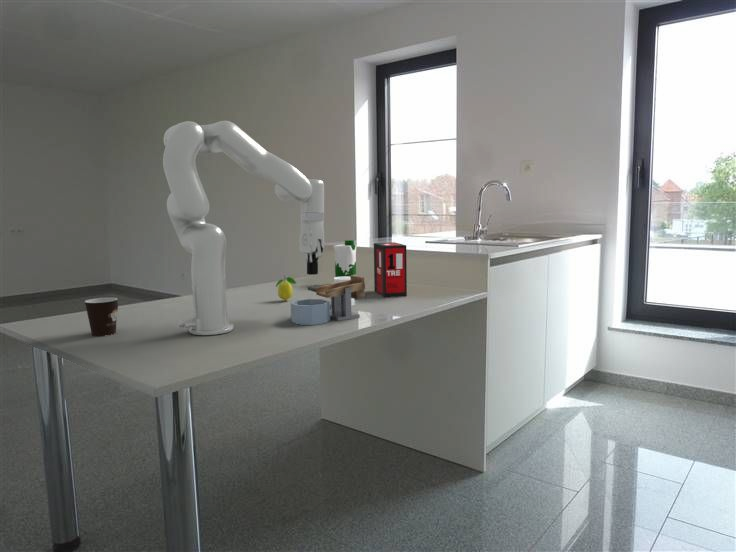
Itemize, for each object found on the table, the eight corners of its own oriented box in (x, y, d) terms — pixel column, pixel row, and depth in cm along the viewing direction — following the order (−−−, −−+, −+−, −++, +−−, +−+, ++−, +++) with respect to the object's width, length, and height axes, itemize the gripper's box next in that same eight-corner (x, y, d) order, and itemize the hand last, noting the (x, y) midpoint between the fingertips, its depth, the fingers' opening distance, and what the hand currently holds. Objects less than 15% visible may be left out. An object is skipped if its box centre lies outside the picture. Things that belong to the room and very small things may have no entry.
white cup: (353, 307, 198) (352, 279, 197) (331, 306, 200) (331, 279, 198) (358, 303, 206) (357, 276, 204) (337, 302, 207) (336, 276, 206)
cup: (302, 326, 169) (301, 307, 168) (287, 320, 179) (286, 301, 178) (335, 321, 175) (334, 302, 174) (318, 315, 185) (318, 297, 184)
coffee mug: (99, 338, 158) (96, 303, 157) (81, 335, 163) (78, 301, 162) (135, 330, 168) (132, 297, 167) (117, 327, 173) (115, 295, 171)
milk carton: (350, 287, 245) (349, 241, 242) (332, 286, 248) (331, 241, 246) (359, 284, 253) (358, 239, 250) (341, 283, 256) (340, 239, 254)
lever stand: (337, 320, 176) (337, 289, 175) (323, 315, 185) (322, 285, 183) (359, 317, 180) (359, 287, 179) (344, 312, 189) (343, 283, 187)
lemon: (297, 301, 212) (296, 275, 211) (282, 303, 209) (281, 276, 207) (289, 298, 217) (288, 273, 216) (275, 300, 214) (274, 274, 213)
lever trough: (328, 307, 175) (325, 286, 174) (309, 300, 187) (306, 281, 186) (366, 297, 182) (364, 277, 181) (345, 292, 194) (343, 273, 193)
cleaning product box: (374, 291, 233) (373, 243, 230) (395, 289, 235) (394, 242, 232) (384, 297, 217) (384, 246, 214) (406, 296, 219) (406, 245, 216)
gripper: (292, 217, 186) (292, 272, 188) (312, 218, 173) (312, 277, 175) (312, 217, 190) (312, 271, 192) (333, 218, 177) (333, 276, 179)
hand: (312, 274), depth 184 cm, fingers closed
